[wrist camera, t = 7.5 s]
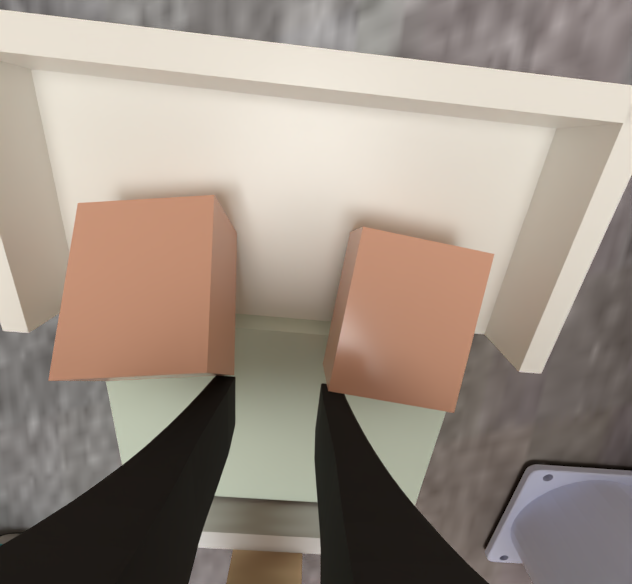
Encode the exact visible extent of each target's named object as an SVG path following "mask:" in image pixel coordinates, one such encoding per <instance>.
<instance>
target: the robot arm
mask: <svg viewBox="0 0 632 584" xmlns="http://www.w3.org/2000/svg"><path fill="white" fill-rule="evenodd" d="M235 383H236V377H233V376H215V377H214V378H213V379H212V380H211V381H210V382H209V384H208V385H207V386H206V387H205V388H204V389H203V390H202V391H201V393H200V394H199V395H198V396H197V397H196V398H195V399H194V400H193V401H192V402H191V403H190V404H189V405H188V406H187V407H186V408H185V409H184V410H183V411H182V412H181V413H180V414H179V415H178V416H177V417H176V418H175V419H174V420H173V421H172V422H171V423H170V424H169V425H168V426H167V427H166V428H165V429H164V430H163V431H162V432H160V433H159V434H158V435H157V436H156V437H155V438H154V439H153V440H152V441H151V442H150V443H148V444H147V445H146V446H145V447H144V448H143V449H141V450H140V451H139V452H138V453H137V454H135V455H134V456H133V457H132V458H131V459H129V460H128V461H127V462H126V463H124V464H123V465H122V466H120V467H119V468H118V469H117V470H115V471H114V472H113V473H111V474H110V475H109V476H107V477H106V478H105V479H103V480H102V481H100V482H99V483H98V484H96V485H95V486H94V487H92V488H91V489H89V490H88V491H87V492H85V493H84V494H82V495H81V496H79V497H78V498H77V499H75V500H74V501H72V502H71V503H69V504H68V505H66V506H64V507H63V508H61V509H60V510H58V511H57V512H55V513H53V514H52V515H50V516H49V517H47V518H46V519H44V520H42V521H41V522H39V523H38V524H36V525H35V526H33V527H31V528H30V529H28V530H26V531H25V532H23V533H21V534H20V535H18V536H16V537H15V538H13V539H11V540H10V541H8V542H6V543H4V544H3V545H1V546H0V584H188V583H189V579H190V575H191V571H192V567H193V563H194V559H195V556H196V552H197V548H198V544H199V541H200V537H201V534H202V531H203V528H204V525H205V522H206V519H207V516H208V513H209V510H210V507H211V504H212V501H213V499H214V496H215V493H216V490H217V487H218V484H219V481H220V478H221V475H222V472H223V469H224V466H225V464H226V461H227V458H228V455H229V450H230V446H231V442H232V437H233V433H234V428H235ZM314 461H315V475H316V489H317V502H318V515H319V528H320V547H321V584H489V583H487V582H486V581H485V580H484V579H483V578H482V577H481V576H480V575H479V574H478V573H477V572H476V571H475V570H473V569H472V568H471V567H470V566H469V565H468V564H467V563H466V562H465V561H464V560H463V559H462V558H461V557H460V556H459V555H458V553H457V552H456V551H455V550H454V549H453V548H452V547H451V546H450V545H449V544H448V543H447V542H446V541H445V540H444V539H443V538H442V537H441V535H440V534H439V533H438V532H437V531H436V530H435V529H434V528H433V526H432V525H431V524H430V523H429V522H428V521H427V520H426V518H425V517H424V516H423V515H422V514H421V513H420V512H419V511H418V509H417V508H416V507H415V506H414V505H413V503H412V502H411V501H410V500H409V498H408V497H407V496H406V495H405V493H404V492H403V491H402V489H401V488H400V487H399V485H398V484H397V483H396V481H395V480H394V479H393V477H392V476H391V475H390V473H389V472H388V470H387V469H386V467H385V466H384V464H383V463H382V461H381V460H380V458H379V457H378V455H377V454H376V452H375V451H374V449H373V447H372V446H371V444H370V442H369V441H368V439H367V437H366V436H365V434H364V432H363V430H362V428H361V427H360V425H359V423H358V421H357V419H356V417H355V415H354V413H353V411H352V409H351V407H350V405H349V403H348V401H347V399H346V396H345V394H342V393H336V392H330V391H328V388H327V384H325V383H321V388H320V396H319V404H318V411H317V419H316V427H315V455H314ZM485 554H486V557H487V559H488V560H489V561H492V562H506V563H523V565H524V567H525V569H526V571H527V573H528V575H529V577H530V579H531V581H532V583H533V584H632V471H629V470H614V469H599V468H585V467H570V466H555V465H540V464H534V465H531V466H529V467H527V469H526V470H525V472H524V474H523V476H522V478H521V480H520V482H519V484H518V486H517V488H516V490H515V492H514V494H513V496H512V498H511V500H510V502H509V504H508V506H507V508H506V510H505V512H504V514H503V516H502V518H501V520H500V522H499V524H498V526H497V528H496V530H495V532H494V534H493V536H492V538H491V540H490V542H489V544H488V546H487V548H486V550H485Z"/></svg>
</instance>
